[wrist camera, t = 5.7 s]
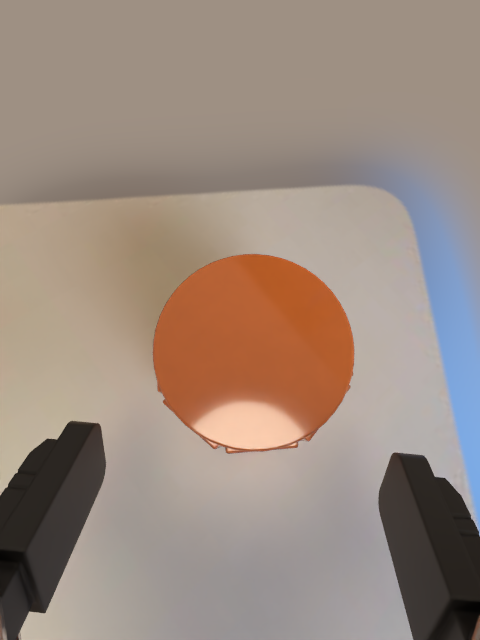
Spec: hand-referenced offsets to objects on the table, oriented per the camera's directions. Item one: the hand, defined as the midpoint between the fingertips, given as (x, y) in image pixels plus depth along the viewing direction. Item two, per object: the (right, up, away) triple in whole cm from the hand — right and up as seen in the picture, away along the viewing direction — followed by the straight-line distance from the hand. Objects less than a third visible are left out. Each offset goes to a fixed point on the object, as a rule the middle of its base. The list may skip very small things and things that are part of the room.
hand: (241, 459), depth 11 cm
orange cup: (0, +1, +9) cm, 9 cm away
